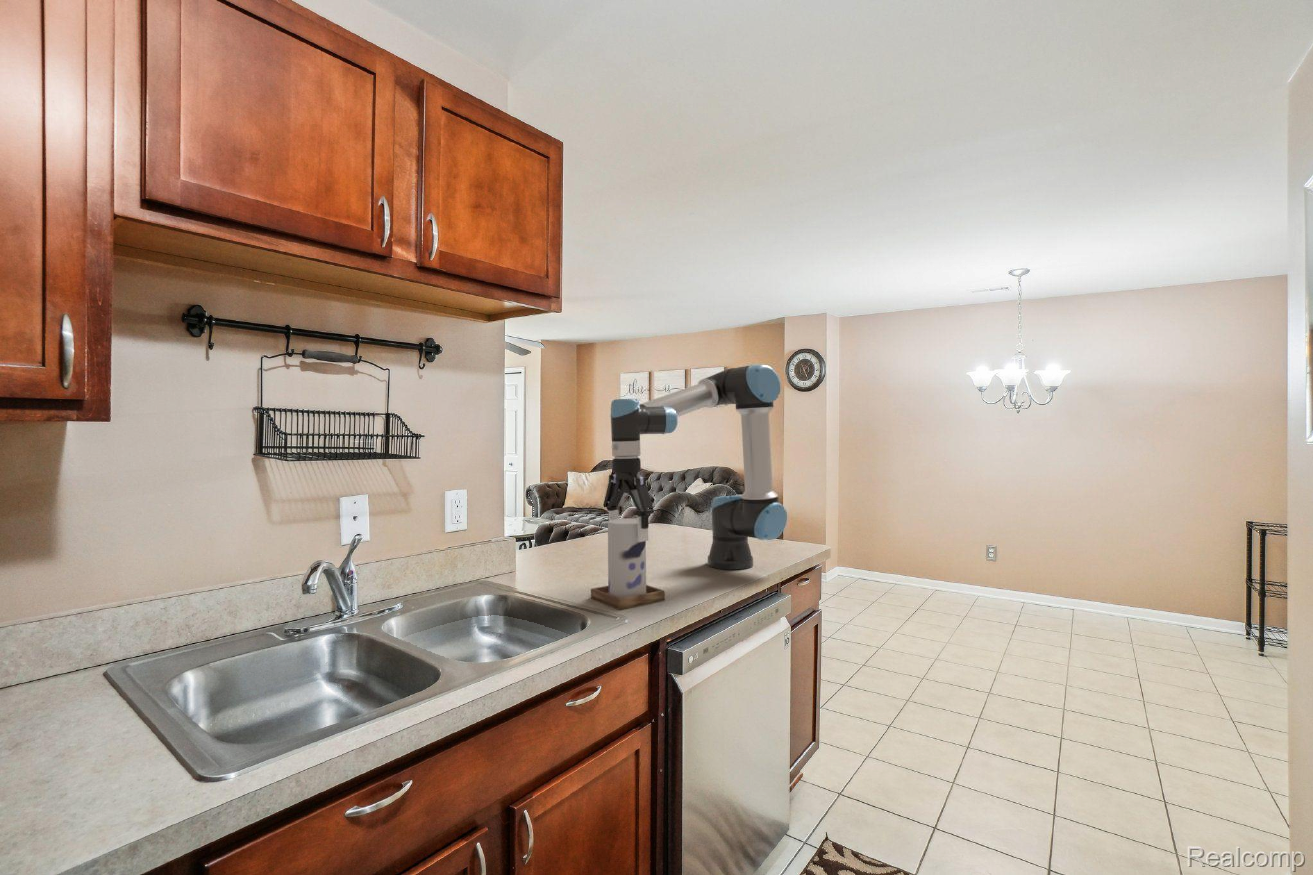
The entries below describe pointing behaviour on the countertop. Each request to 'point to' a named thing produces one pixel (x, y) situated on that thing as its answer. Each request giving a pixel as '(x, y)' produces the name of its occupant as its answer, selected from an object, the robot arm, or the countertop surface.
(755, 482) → the robot arm
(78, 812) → the countertop surface
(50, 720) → the countertop surface
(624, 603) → the stand
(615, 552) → the container
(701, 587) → the countertop surface
